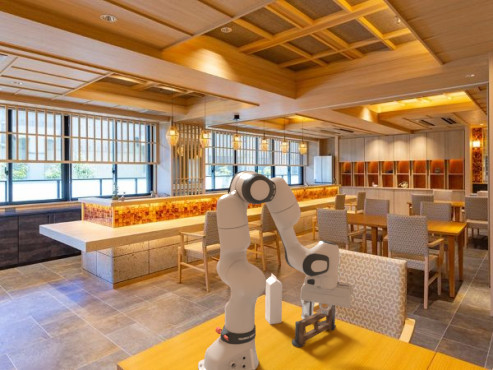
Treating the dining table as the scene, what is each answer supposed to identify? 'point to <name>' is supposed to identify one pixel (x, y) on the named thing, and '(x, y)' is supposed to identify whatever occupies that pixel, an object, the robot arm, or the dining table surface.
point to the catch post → (296, 336)
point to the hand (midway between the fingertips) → (324, 313)
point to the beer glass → (307, 308)
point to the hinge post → (332, 319)
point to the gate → (317, 329)
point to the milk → (273, 300)
